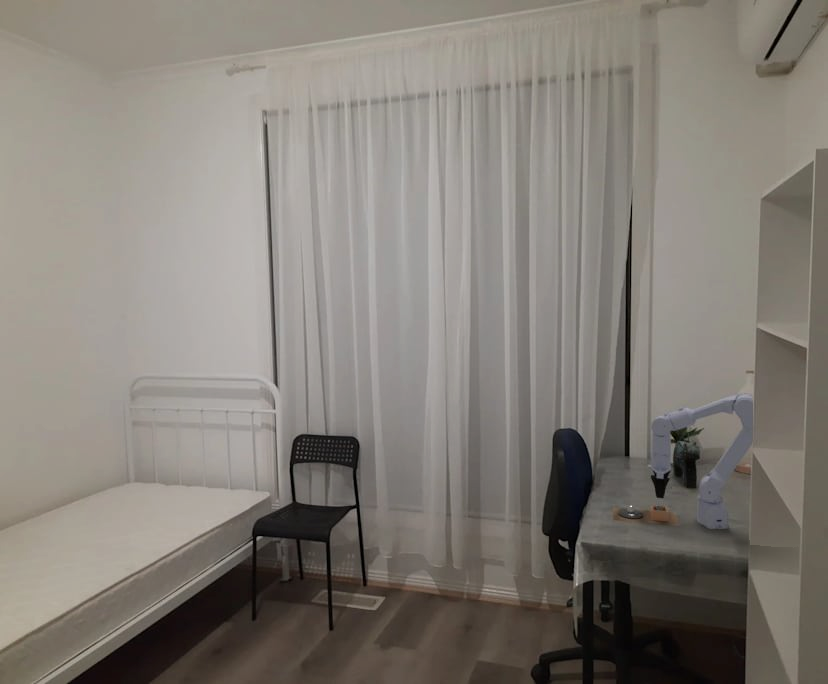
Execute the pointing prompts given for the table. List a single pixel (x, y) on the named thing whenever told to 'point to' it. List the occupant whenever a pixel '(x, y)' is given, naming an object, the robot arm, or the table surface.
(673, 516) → the walnut board
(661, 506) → the stand rod
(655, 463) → the robot arm
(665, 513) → the collar
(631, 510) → the hub
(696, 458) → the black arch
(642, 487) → the table surface
